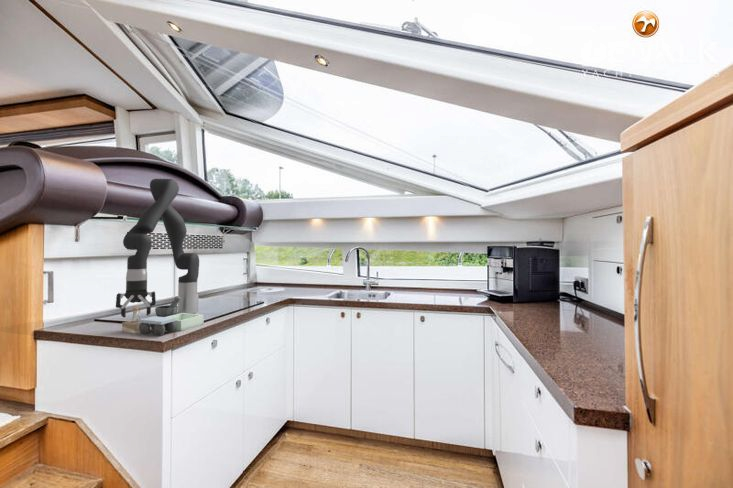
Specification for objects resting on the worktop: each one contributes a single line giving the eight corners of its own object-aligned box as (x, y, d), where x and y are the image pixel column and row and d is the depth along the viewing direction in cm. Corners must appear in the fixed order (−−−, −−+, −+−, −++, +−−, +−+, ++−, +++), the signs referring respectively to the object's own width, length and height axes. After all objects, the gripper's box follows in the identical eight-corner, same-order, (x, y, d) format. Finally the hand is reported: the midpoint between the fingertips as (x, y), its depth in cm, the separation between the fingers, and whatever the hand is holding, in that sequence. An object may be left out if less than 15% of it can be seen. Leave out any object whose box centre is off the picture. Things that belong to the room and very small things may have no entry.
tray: (181, 322, 159) (181, 313, 159) (203, 324, 155) (203, 314, 155) (157, 328, 146) (158, 318, 146) (181, 331, 142) (181, 320, 142)
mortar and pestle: (151, 323, 155) (152, 298, 156) (158, 319, 164) (158, 295, 165) (178, 322, 159) (178, 297, 159) (183, 318, 168) (183, 294, 168)
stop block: (137, 327, 147) (137, 319, 147) (149, 329, 145) (149, 320, 145) (122, 331, 140) (122, 322, 140) (134, 333, 138) (134, 323, 138)
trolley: (138, 333, 137) (138, 319, 138) (153, 329, 144) (153, 316, 144) (161, 336, 134) (162, 321, 134) (176, 332, 141) (176, 318, 141)
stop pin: (136, 329, 144) (136, 307, 144) (140, 330, 143) (141, 307, 143) (131, 331, 142) (131, 308, 142) (135, 331, 141) (135, 308, 141)
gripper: (156, 277, 149) (156, 313, 149) (118, 279, 142) (117, 316, 142) (155, 279, 143) (154, 316, 143) (114, 280, 136) (114, 319, 136)
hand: (136, 316), depth 142 cm, fingers open, 8 cm apart
